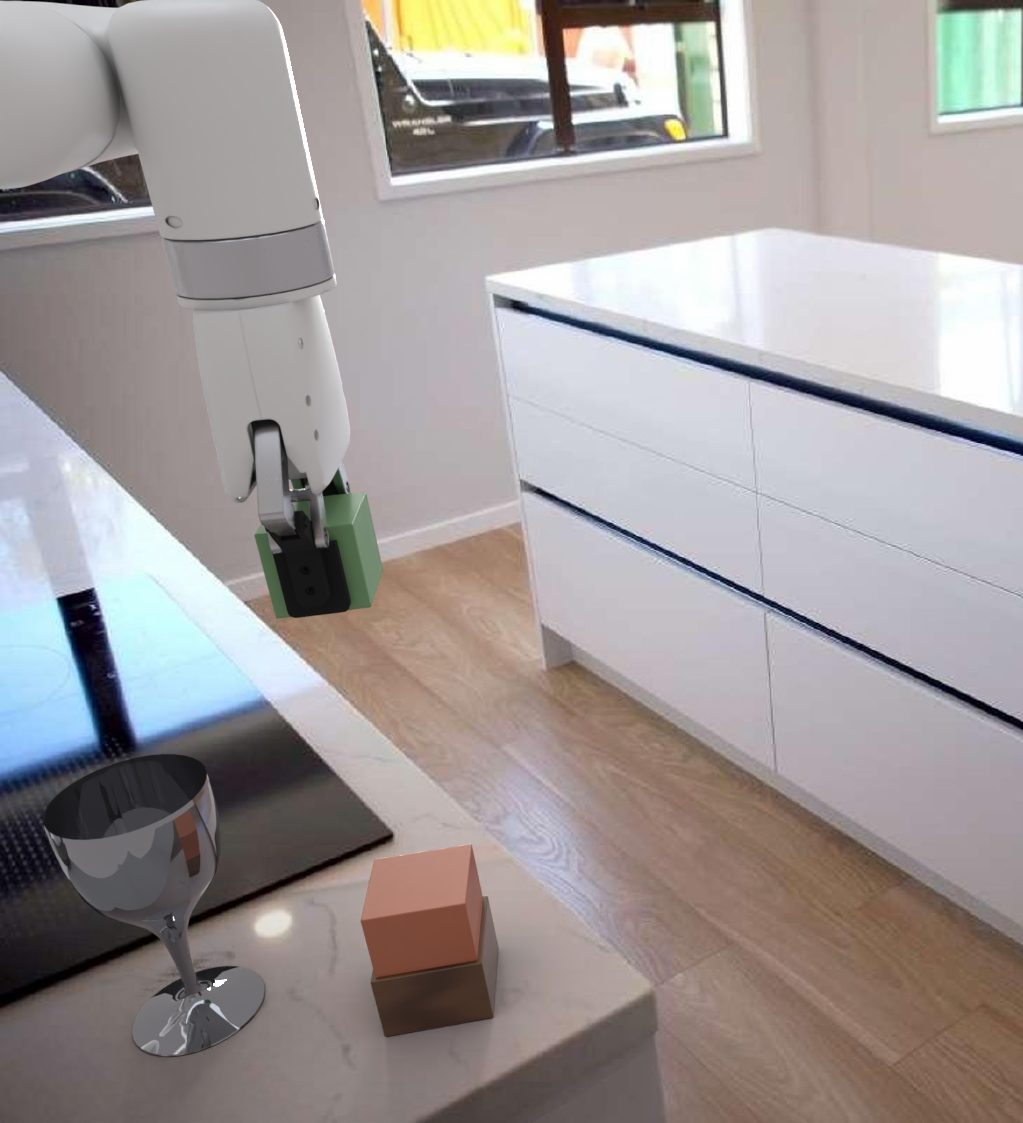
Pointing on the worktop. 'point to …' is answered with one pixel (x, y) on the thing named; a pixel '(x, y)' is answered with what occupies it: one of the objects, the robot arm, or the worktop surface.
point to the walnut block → (441, 989)
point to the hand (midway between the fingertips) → (329, 587)
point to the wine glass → (155, 885)
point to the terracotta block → (423, 910)
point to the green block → (355, 545)
